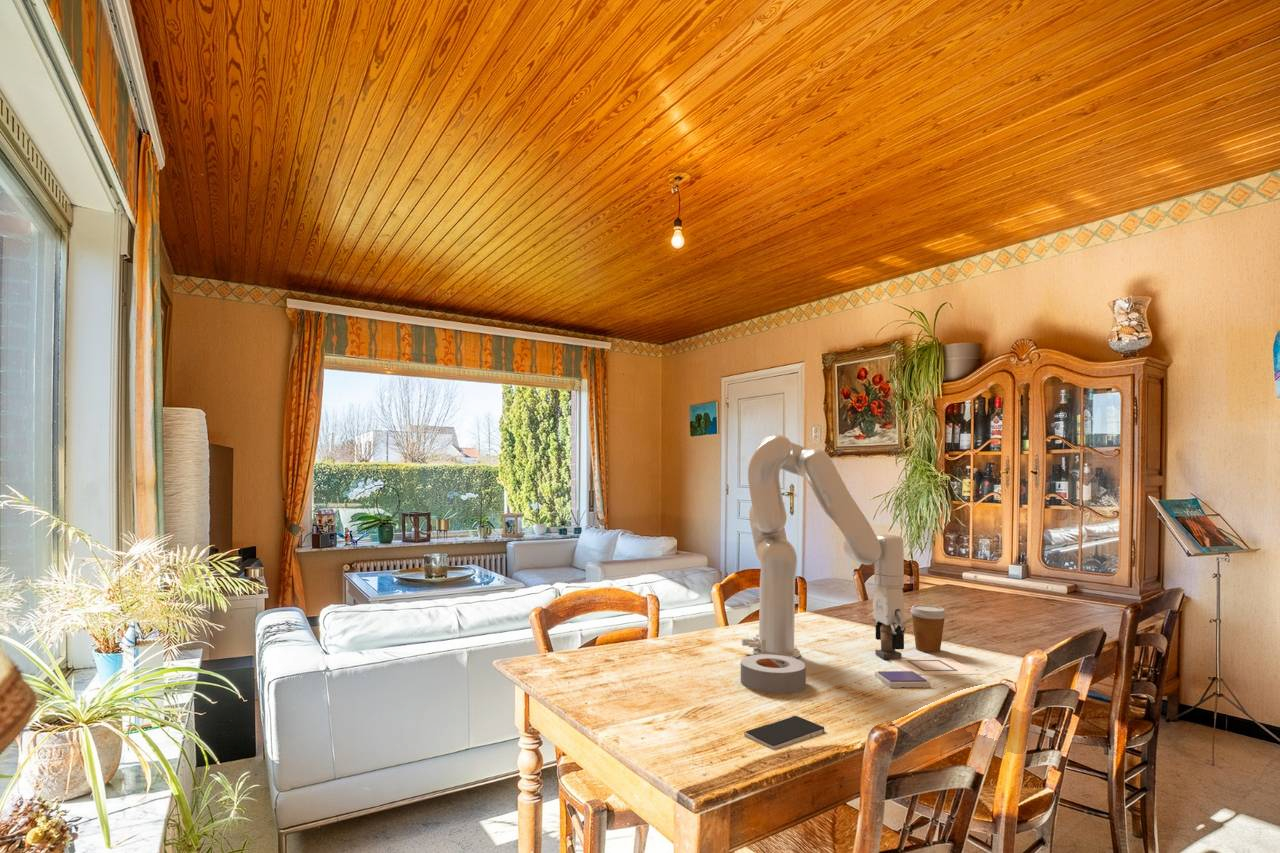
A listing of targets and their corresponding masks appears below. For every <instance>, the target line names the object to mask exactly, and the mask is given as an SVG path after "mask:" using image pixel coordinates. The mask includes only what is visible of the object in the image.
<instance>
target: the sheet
mask: <svg viewBox="0 0 1280 853" xmlns="http://www.w3.org/2000/svg"><path fill="white" fill-rule="evenodd" d="M887 660H888V661H890V662H891V663H893V664H894V665H896V666H898V667H899V668H900V669H902V671H913V672H915V673H916V674H918V675H919V676H921V675H923V676H929V675H930V676H932V675H933V676H935V675H936V676H937V675H938V676H939V675H941V676H942V675H946V676H947V675H951V676H953V675H980V673H979V672H978V671H975V670H973V669H971V668H969V667H968V666H966V665H964V664H962V663H960V662H959V661H957V660H955V659H953V658H951V657H901V659H887Z"/></svg>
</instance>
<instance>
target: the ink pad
mask: <svg viewBox="0 0 1280 853" xmlns="http://www.w3.org/2000/svg"><path fill="white" fill-rule="evenodd" d="M874 677H876V679H878V680H879V681H880V682H881V683H882V684H884V685H885V686H886V685H887V686H886V687H888V688H889V689H891V688H892V689H893V688H894V689H895V688H896V689H899V688H901V687H923V688H931V682H930V681H929V680H927V679H926V678H924V677H923V676H921V675H918V674H916V673H915V672H913V671H905V670H901V671H900V670H899V671H898V670H895V671H894V670H893V671H890V670H886V671H885V670H884V671H883V670H881V671H875V672H874ZM901 689H902V688H901Z"/></svg>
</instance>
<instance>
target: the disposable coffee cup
mask: <svg viewBox="0 0 1280 853" xmlns="http://www.w3.org/2000/svg"><path fill="white" fill-rule="evenodd" d="M909 612H910V615H911V618H912V628H913V635H914V642H915V650H917V651H919V652H921V653H928V654H938V653H941V648H942V640H943V631H944V625H945V618H946V616H947V613H946V609H945V608H943V607H941V606H935V605H929V604H914V605H912V606H911V609H910V610H909Z"/></svg>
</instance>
